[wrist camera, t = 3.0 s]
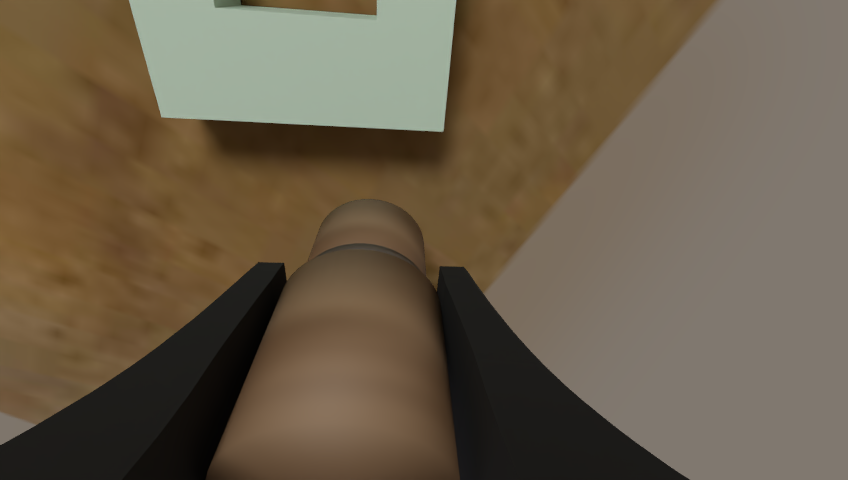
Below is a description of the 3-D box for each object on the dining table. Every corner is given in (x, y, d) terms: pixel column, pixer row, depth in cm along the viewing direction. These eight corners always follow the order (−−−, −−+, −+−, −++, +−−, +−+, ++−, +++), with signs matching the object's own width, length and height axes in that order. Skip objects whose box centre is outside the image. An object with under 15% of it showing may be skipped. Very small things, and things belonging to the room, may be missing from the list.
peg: (428, 297, 13) (446, 549, 7) (311, 293, 13) (230, 552, 7) (439, 193, 11) (478, 424, 5) (301, 185, 11) (174, 421, 5)
